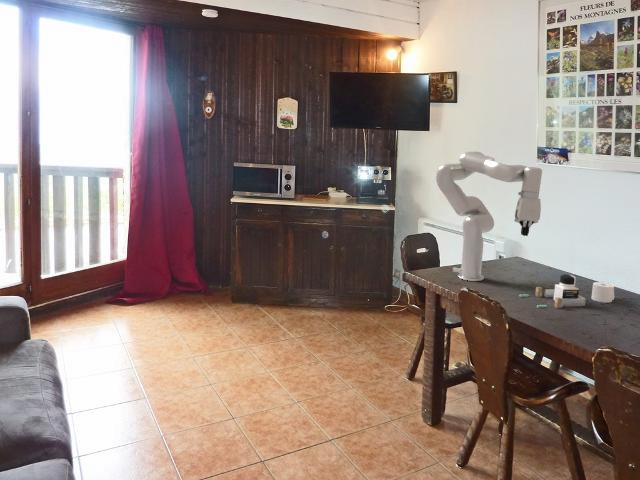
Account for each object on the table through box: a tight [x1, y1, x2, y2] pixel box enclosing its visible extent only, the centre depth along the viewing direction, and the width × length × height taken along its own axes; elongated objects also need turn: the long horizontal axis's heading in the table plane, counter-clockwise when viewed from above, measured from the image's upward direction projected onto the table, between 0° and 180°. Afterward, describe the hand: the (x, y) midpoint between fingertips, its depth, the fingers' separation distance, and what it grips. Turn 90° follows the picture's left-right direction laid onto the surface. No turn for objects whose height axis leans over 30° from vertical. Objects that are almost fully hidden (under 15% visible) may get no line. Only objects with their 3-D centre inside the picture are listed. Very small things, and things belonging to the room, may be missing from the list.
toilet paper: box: [591, 281, 615, 304], centre depth 246 cm, size 8×11×7 cm
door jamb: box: [534, 286, 563, 309], centre depth 240 cm, size 2×18×4 cm, turn 7°
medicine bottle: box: [553, 274, 580, 301], centre depth 239 cm, size 7×7×12 cm
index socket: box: [543, 288, 586, 307], centre depth 241 cm, size 10×14×3 cm
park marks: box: [519, 294, 548, 309], centre depth 239 cm, size 4×16×1 cm, turn 8°
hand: (524, 235), depth 251 cm, fingers closed
